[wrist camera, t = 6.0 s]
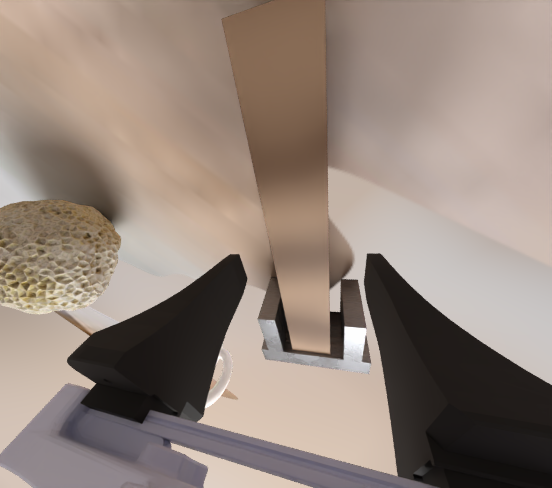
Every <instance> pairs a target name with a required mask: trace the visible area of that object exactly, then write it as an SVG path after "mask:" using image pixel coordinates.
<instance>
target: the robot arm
mask: <svg viewBox="0 0 552 488" xmlns="http://www.w3.org/2000/svg"><path fill="white" fill-rule="evenodd" d="M246 283H247V276H246V273H245V270H244V267H243V264H242V261H241V258H240V255H239V254H230V255H229V256H227V257H226V258H224V259H223V260H222V261H221V262H219V263H218V264H217V265H215V266H214V267H213V268H212V269H210V270H209V271H208V272H206V273H205V274H204V275H203V276H201V277H200V278H198V279H197V280H196V281H194V282H193V283H192V284H190V285H189V286H187V287H186V288H184V289H183V290H181V291H180V292H178V293H177V294H175V295H173V296H172V297H170V298H169V299H167V300H165V301H163V302H161V303H160V304H158V305H156V306H154V307H152V308H150V309H148V310H146V311H144V312H142V313H140V314H138V315H136V316H134V317H132V318H130V319H127V320H125V321H123V322H120V323H118V324H115V325H113V326H110V327H108V328H105V329H103V330H100V331H98V332H95V333H93V334H92V335H91V336H90V337H89V338H88V339H87V340H86V341H85V342H84V343H83V344H82V345H81V346H80V347H78V348H77V349H76V350H75V351H74V352H73V354H71V355H70V356H69V357H68V359H67V363H68V364H69V365H70V366H71V367H72V368H73V369H75V370H76V371H78V372H79V373H81V374H82V375H84V376H86V377H88V378H89V379H90V380H92V381H93V382H95V383H96V385H95V386H94V387H93V388H92V389H91V390H90V389H87V388H85V387H81V386H77V385H73V384H70V383H68V384H65V386H64V387H63V388H62V389H61V390H60V391H59V392H58V393H57V394H56V395H55V396H54V397H53V398H52V399H51V400H50V402H49V403H48V404H47V405H46V406H45V407H44V408H43V409H42V410H41V411H40V413H38V414H37V415H36V416H35V418H34V419H33V420H32V421H31V422H30V423H29V424H28V425H27V426H26V427H25V428H24V429H23V430H22V432H21V433H20V434H19V435H18V436H17V437H16V438H15V439H14V440H13V441H12V442H11V443H10V444H9V445H8V446H7V447H6V448H5V450H4V451H3V452H2V453H1V454H0V466H1V467H3V468H5V469H7V470H9V471H11V472H12V473H14V474H16V475H17V476H19V477H20V478H21V479H23V480H24V481H25V482H27V483H28V484H29V485H30V486H31V487H33V488H203V484H204V480H205V477H206V474H207V471H208V468H207V466H205V465H203V464H201V463H199V462H197V461H195V460H193V459H191V458H189V457H188V456H186V455H185V454H182V453H180V452H177V451H174V450H172V449H171V443H174V444H177V445H181V446H184V447H187V448H190V449H193V450H196V451H200V452H203V453H206V454H209V455H212V456H215V457H218V458H222V459H225V460H228V461H231V462H235V463H237V464H241V465H244V466H247V467H250V468H253V469H256V470H260V471H263V472H266V473H269V474H272V475H275V476H279V477H282V478H285V479H288V480H291V481H294V482H298V483H301V484H304V485H307V486H310V487H313V488H552V385H550V384H549V383H547V382H545V381H543V380H542V379H540V378H538V377H537V376H535V375H533V374H531V373H530V372H528V371H526V370H524V369H523V368H521V367H520V366H518V365H517V364H515V363H513V362H512V361H510V360H509V359H507V358H505V357H504V356H502V355H501V354H499V353H497V352H496V351H494V350H493V349H491V348H490V347H488V346H487V345H485V344H483V343H482V342H481V341H479V340H477V339H476V338H475V337H473V336H472V335H470V334H469V333H468V332H466V331H465V330H463V329H462V328H460V327H459V326H458V325H456V324H455V323H454V322H452V321H451V320H450V319H448V318H447V317H446V316H445V315H443V314H442V313H441V312H440V311H438V310H437V309H436V308H435V307H433V306H432V305H431V304H430V303H429V302H428V301H426V300H425V299H424V298H423V297H422V296H421V295H420V294H419V293H417V292H416V291H415V290H414V289H413V288H412V287H411V286H410V285H409V284H408V283H407V282H406V281H405V280H404V279H403V278H402V277H401V276H400V275H399V274H398V273H397V271H396V270H395V269H394V268H393V267H392V266H391V265H390V264H389V263H388V261H387V260H386V259H385V258H384V257H383V256H382V255H381V254H367V260H366V269H365V278H364V286H365V293H366V300H367V304H368V308H369V311H370V315H371V319H372V322H373V326H374V330H375V334H376V337H377V341H378V345H379V350H380V355H381V361H382V367H383V372H384V379H385V386H386V391H387V399H388V405H389V413H390V419H391V427H392V434H393V442H394V449H395V458H396V466H397V473H398V476H394V475H390V474H387V473H383V472H379V471H375V470H372V469H368V468H364V467H361V466H357V465H353V464H350V463H346V462H342V461H338V460H335V459H331V458H327V457H323V456H319V455H316V454H312V453H309V452H305V451H301V450H298V449H294V448H290V447H286V446H282V445H279V444H275V443H271V442H267V441H264V440H260V439H256V438H253V437H249V436H245V435H242V434H238V433H234V432H231V431H227V430H223V429H219V428H216V427H212V426H208V425H204V424H201V423H197V421H198V420H200V419H201V418H202V417H203V415H204V410H205V406H206V402H207V397H208V393H209V389H210V385H211V381H212V377H213V373H214V370H215V366H216V363H217V360H218V356H219V353H220V350H221V347H222V344H223V341H224V338H225V335H226V332H227V329H228V327H229V325H230V322H231V320H232V318H233V315H234V313H235V311H236V309H237V307H238V305H239V302H240V300H241V298H242V295H243V293H244V289H245V286H246ZM170 442H171V443H170Z"/></svg>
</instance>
